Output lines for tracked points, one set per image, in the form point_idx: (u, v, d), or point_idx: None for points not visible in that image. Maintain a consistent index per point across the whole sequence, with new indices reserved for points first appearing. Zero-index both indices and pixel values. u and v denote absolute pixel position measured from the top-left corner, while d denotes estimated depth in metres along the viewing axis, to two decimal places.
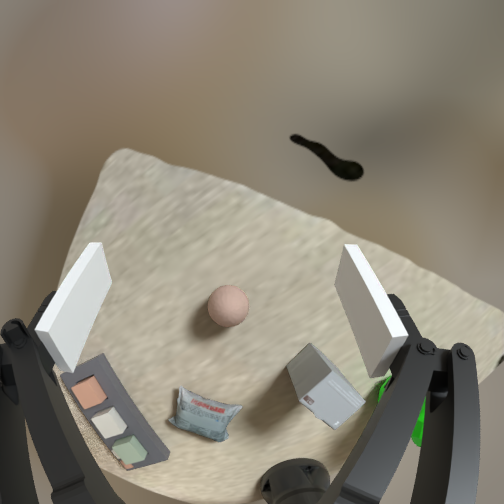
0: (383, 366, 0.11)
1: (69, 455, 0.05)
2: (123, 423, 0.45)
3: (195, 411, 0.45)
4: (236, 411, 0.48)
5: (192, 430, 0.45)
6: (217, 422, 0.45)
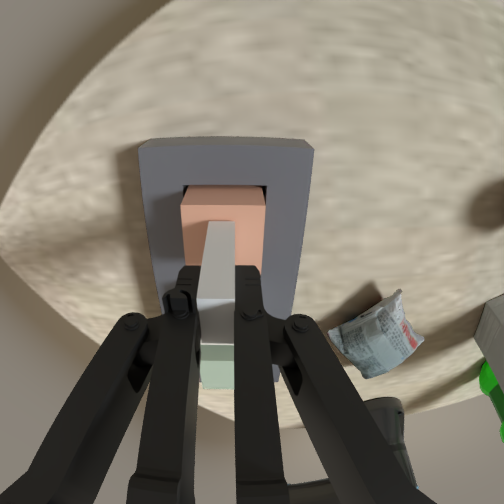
0: (225, 331, 0.12)
1: (177, 450, 0.06)
2: None
3: (395, 340, 0.26)
4: None
5: (361, 363, 0.28)
6: (400, 360, 0.28)
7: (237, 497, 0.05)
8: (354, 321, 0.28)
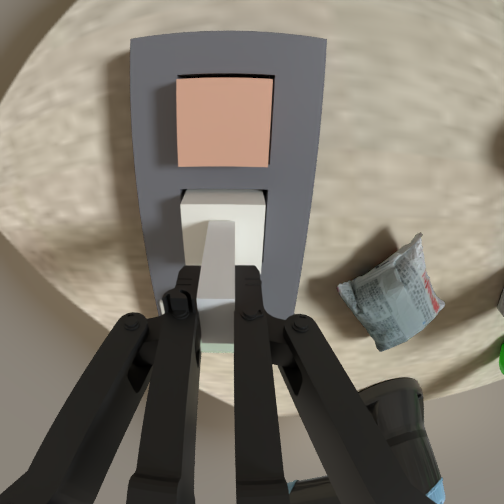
0: (225, 331, 0.12)
1: (177, 450, 0.06)
2: None
3: (417, 297, 0.22)
4: None
5: (377, 326, 0.24)
6: (421, 325, 0.24)
7: (237, 497, 0.05)
8: (368, 273, 0.23)
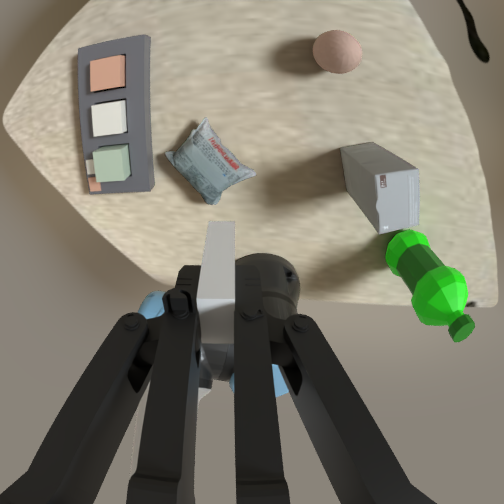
0: (225, 331, 0.12)
1: (177, 450, 0.06)
2: (127, 123, 0.38)
3: (207, 152, 0.40)
4: (247, 176, 0.44)
5: (188, 174, 0.41)
6: (223, 177, 0.42)
7: (237, 497, 0.05)
8: (182, 145, 0.41)
